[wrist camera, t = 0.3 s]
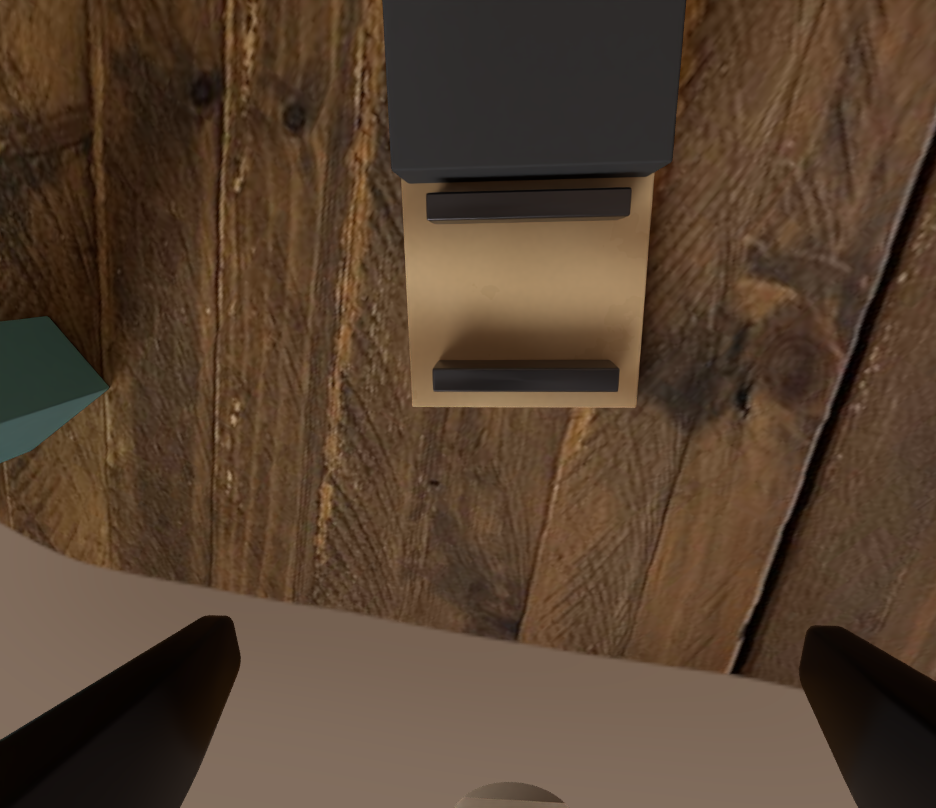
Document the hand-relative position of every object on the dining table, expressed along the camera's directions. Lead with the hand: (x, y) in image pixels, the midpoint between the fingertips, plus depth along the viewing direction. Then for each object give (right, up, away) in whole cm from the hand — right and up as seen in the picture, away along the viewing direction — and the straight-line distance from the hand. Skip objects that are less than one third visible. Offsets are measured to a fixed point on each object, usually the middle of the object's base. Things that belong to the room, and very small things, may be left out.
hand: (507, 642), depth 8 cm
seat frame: (+1, +10, +9) cm, 14 cm away
